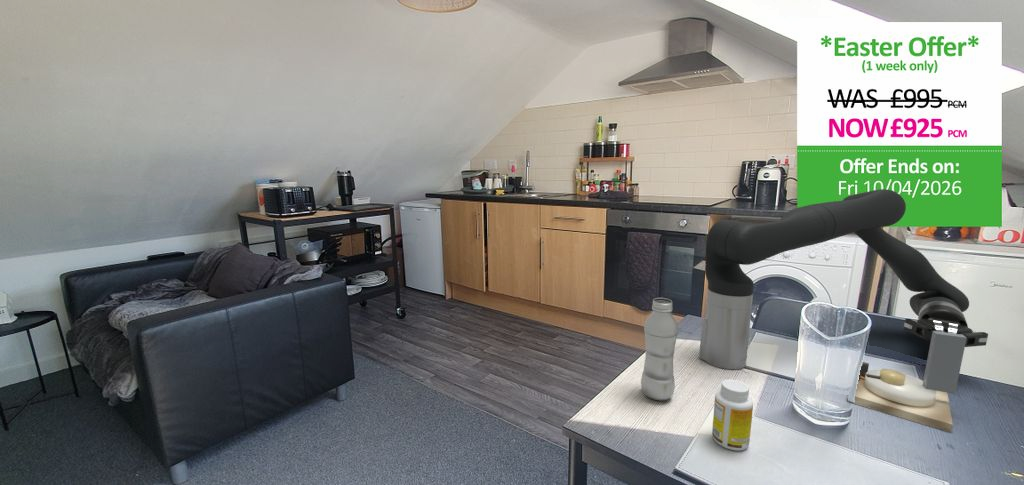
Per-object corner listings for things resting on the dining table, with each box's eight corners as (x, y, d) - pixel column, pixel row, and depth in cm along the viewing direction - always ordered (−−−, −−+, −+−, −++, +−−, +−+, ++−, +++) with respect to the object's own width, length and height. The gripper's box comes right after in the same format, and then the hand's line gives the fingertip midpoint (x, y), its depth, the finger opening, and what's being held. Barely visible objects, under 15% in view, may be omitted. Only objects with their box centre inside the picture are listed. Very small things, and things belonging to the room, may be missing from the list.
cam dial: (872, 397, 78) (882, 333, 76) (858, 374, 87) (868, 316, 84) (963, 416, 72) (978, 346, 70) (939, 389, 81) (952, 326, 78)
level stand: (846, 401, 80) (850, 380, 79) (853, 374, 90) (856, 355, 89) (950, 432, 70) (955, 408, 70) (945, 399, 80) (950, 377, 80)
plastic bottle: (638, 401, 81) (643, 304, 77) (641, 384, 87) (646, 293, 83) (673, 408, 78) (680, 308, 75) (674, 390, 85) (680, 297, 81)
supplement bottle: (754, 442, 69) (760, 386, 67) (740, 457, 65) (746, 398, 63) (720, 426, 73) (725, 373, 71) (705, 439, 69) (710, 384, 67)
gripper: (904, 298, 98) (904, 318, 86) (988, 311, 89) (1001, 335, 77) (899, 328, 99) (898, 351, 87) (981, 344, 90) (993, 372, 78)
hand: (946, 344), depth 82 cm, fingers closed
